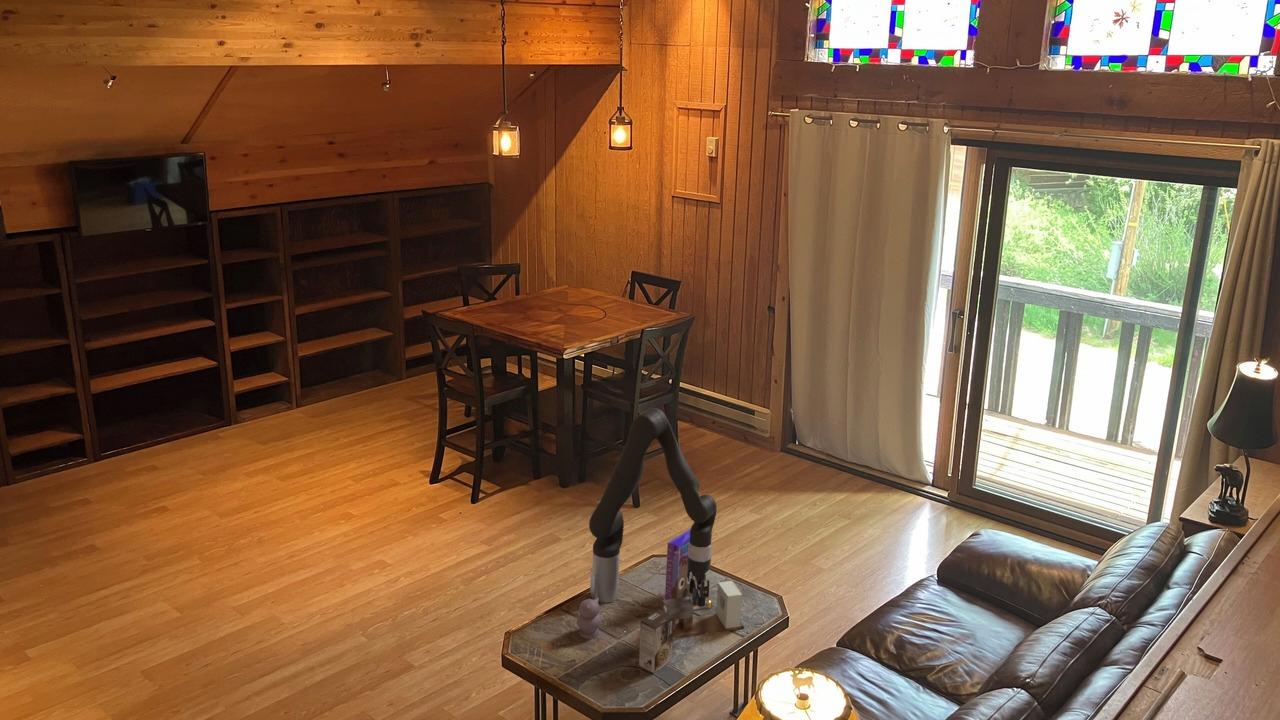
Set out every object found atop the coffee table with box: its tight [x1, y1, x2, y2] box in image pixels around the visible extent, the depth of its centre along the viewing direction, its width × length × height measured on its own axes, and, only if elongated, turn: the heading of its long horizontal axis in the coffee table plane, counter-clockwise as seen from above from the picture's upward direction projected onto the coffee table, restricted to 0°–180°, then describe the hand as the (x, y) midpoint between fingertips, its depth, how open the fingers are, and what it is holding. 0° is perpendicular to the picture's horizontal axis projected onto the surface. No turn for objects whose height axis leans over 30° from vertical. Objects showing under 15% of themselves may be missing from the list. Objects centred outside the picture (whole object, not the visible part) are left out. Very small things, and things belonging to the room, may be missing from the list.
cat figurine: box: [576, 598, 603, 640], centre depth 323 cm, size 8×8×12 cm
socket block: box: [715, 580, 743, 628], centre depth 332 cm, size 5×9×12 cm, turn 17°
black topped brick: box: [662, 587, 713, 613], centre depth 327 cm, size 16×3×8 cm, turn 107°
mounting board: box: [661, 597, 745, 639], centre depth 330 cm, size 27×9×10 cm, turn 107°
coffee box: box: [638, 608, 674, 674], centre depth 308 cm, size 9×6×16 cm
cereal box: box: [664, 528, 701, 600], centre depth 345 cm, size 17×5×24 cm, turn 143°
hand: (696, 599), depth 328 cm, fingers open, 8 cm apart
